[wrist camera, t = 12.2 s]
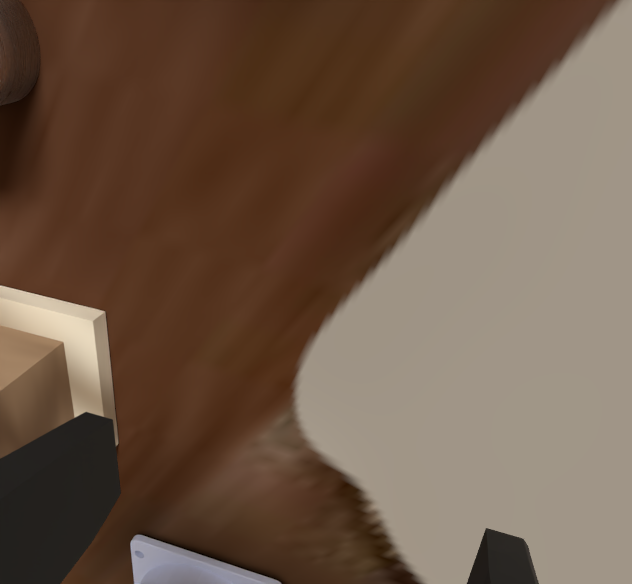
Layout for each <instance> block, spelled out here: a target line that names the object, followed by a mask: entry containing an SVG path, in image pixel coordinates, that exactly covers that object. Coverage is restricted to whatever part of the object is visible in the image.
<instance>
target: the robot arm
mask: <svg viewBox="0 0 632 584" xmlns="http://www.w3.org/2000/svg"><path fill="white" fill-rule="evenodd" d="M120 494H121V491H120V482H119V472H118V462H117V453H116V443H115V434H114V424H113V419H109V418H106V417H103V416H99V415H96V414H92V413H89V412H85V413H83V414H81V415H79V416H77V417H75V418H73V419H71V420H69V421H67V422H66V423H64V424H62V425H60V426H58V427H57V428H55V429H53V430H51V431H49V432H48V433H46V434H44V435H42V436H40V437H39V438H37V439H35V440H33V441H31V442H30V443H28V444H26V445H24V446H23V447H21V448H19V449H17V450H15V451H13V452H12V453H10V454H8V455H6V456H4V457H2V458H1V459H0V584H60V583H61V582H62V581H63V579H64V578H65V577H66V576H67V574H68V573H69V572H70V570H71V569H72V568H73V566H74V565H75V564H76V562H77V561H78V560H79V558H80V557H81V556H82V554H83V553H84V552H85V550H86V549H87V548H88V546H89V545H90V544H91V542H92V541H93V539H94V538H95V536H96V534H97V533H98V531H99V530H100V528H101V526H102V525H103V523H104V521H105V520H106V518H107V516H108V515H109V513H110V511H111V509H112V508H113V506H114V504H115V502H116V501H117V499H118V497H119V496H120ZM130 546H131V556H132V566H133V576H134V584H282V583H281V582H279V581H277V580H275V579H272V578H269V577H266V576H263V575H260V574H257V573H254V572H251V571H248V570H245V569H242V568H239V567H236V566H233V565H230V564H227V563H224V562H221V561H218V560H215V559H212V558H209V557H206V556H203V555H200V554H197V553H194V552H191V551H188V550H185V549H182V548H179V547H176V546H173V545H170V544H167V543H164V542H161V541H158V540H155V539H152V538H149V537H146V536H143V535H136V536H134V538H133V539H132V541H131V543H130ZM467 584H539V583H538V580H537V577H536V573H535V570H534V566H533V563H532V559H531V556H530V552H529V548H528V545H527V544H526V542H525V541H524V539H522V538H519V537H515V536H512V535H508V534H505V533H501V532H498V531H495V530H491V529H487V528H486V530H485V533H484V536H483V539H482V541H481V544H480V547H479V550H478V553H477V556H476V559H475V562H474V565H473V567H472V570H471V573H470V576H469V579H468V582H467Z"/></svg>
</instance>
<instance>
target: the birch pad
mask: <svg viewBox="0 0 632 584" xmlns="http://www.w3.org/2000/svg"><path fill="white" fill-rule="evenodd" d="M0 325H1V326H5V327H9V328H12V329H16V330H20V331H24V332H28V333H31V334H35V335H39V336H43V337H47V338H50V339H54V340H58V341H62V342H64V348H65V355H66V362H67V369H68V376H69V383H70V389H71V396H72V403H73V410H74V417H77V416H79V415H81V414H83V413H85V412H89V413H92V414H96V415H99V416H103V417H106V418H109V419H113V424H114V434H115V443H116V446H117V445H118V444H119V442H118V432H117V422H116V412H115V402H114V392H113V383H112V373H111V363H110V353H109V343H108V333H107V323H106V313H105V311H101V310H97V309H93V308H89V307H85V306H81V305H77V304H73V303H69V302H65V301H61V300H57V299H53V298H49V297H45V296H41V295H37V294H33V293H29V292H25V291H21V290H17V289H13V288H8V287H4V286H0Z"/></svg>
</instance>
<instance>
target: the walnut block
mask: <svg viewBox="0 0 632 584" xmlns="http://www.w3.org/2000/svg"><path fill="white" fill-rule="evenodd" d="M73 418H75V417H74V410H73V403H72V396H71V389H70V383H69V376H68V369H67V362H66V355H65V348H64V342H62V341H58V340H54V339H50V338H47V337H43V336H39V335H35V334H31V333H28V332H24V331H20V330H16V329H12V328H9V327H5V326H1V325H0V459H1V458H2V457H4V456H6V455H8V454H10V453H12V452H13V451H15V450H17V449H19V448H21V447H23V446H24V445H26V444H28V443H30V442H31V441H33V440H35V439H37V438H39V437H40V436H42V435H44V434H46V433H48V432H49V431H51V430H53V429H55V428H57V427H58V426H60V425H62V424H64V423H66V422H67V421H69V420H71V419H73Z"/></svg>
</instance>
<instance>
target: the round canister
mask: <svg viewBox="0 0 632 584" xmlns="http://www.w3.org/2000/svg"><path fill="white" fill-rule="evenodd" d="M39 70H40V46H39V41H38V36H37V33H36V30H35V27H34V24H33V22H32V20H31V17H30V15H29V13H28V12H27V10H26V8H25V7H24V5H23V3H22V2H21V1H20V0H0V105H4V104H9V103H13V102H17V101H19V100H21V99H23V98H24V97H25V96H27V95H28V93H29V92H30V91H31V90H32V88H33V87H34V85H35V83H36V81H37V78H38V74H39Z"/></svg>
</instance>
